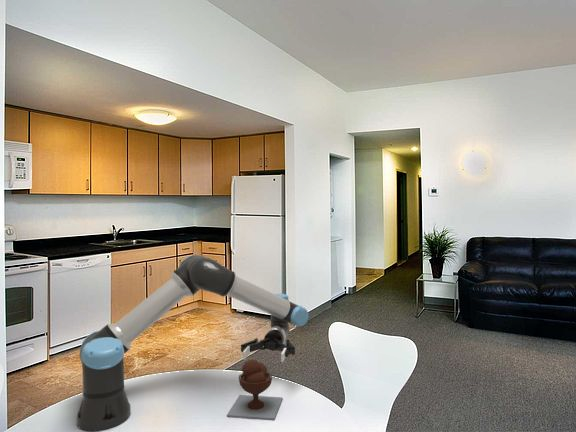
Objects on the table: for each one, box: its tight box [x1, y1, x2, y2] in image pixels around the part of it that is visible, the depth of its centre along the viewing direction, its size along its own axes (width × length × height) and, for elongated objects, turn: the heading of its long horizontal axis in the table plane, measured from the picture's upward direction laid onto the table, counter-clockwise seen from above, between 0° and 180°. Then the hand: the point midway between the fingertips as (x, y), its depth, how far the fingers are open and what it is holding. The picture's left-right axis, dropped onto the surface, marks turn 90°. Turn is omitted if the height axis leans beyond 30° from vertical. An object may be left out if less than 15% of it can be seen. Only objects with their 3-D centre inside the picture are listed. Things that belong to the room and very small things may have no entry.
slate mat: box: [226, 394, 284, 421], centre depth 130 cm, size 15×14×1 cm
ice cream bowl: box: [238, 359, 273, 410], centre depth 130 cm, size 11×11×15 cm
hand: (262, 356), depth 140 cm, fingers open, 13 cm apart
